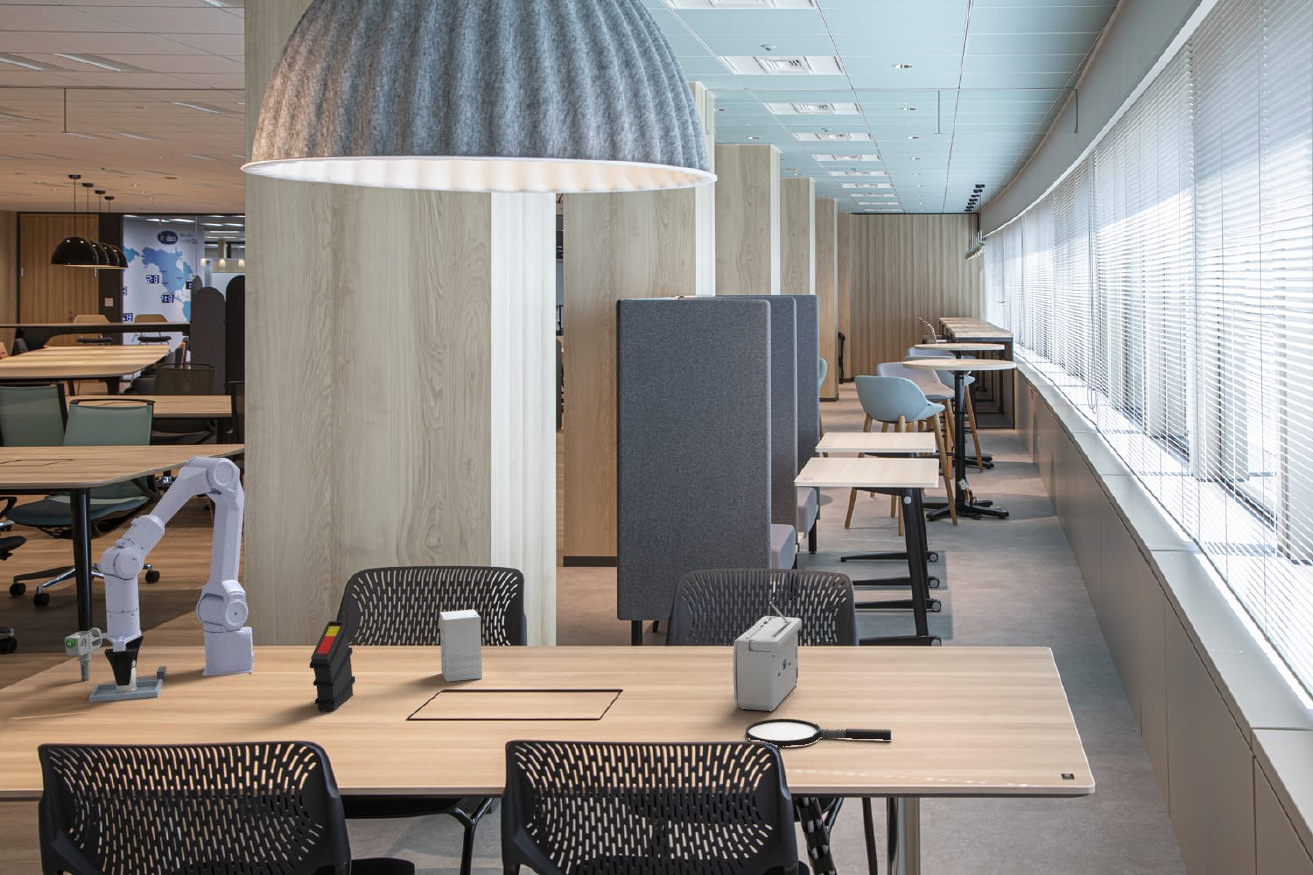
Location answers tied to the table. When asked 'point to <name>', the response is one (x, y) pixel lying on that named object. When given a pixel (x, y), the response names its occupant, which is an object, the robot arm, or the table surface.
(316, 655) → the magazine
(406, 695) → the table surface
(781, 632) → the stereo radio cassette player
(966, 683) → the table surface
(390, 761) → the table surface
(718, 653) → the table surface
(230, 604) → the robot arm
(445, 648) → the supplement box
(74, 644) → the mechanical component
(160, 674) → the holder
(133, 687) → the white cylindrical jar
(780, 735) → the magnifying glass
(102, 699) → the tray
